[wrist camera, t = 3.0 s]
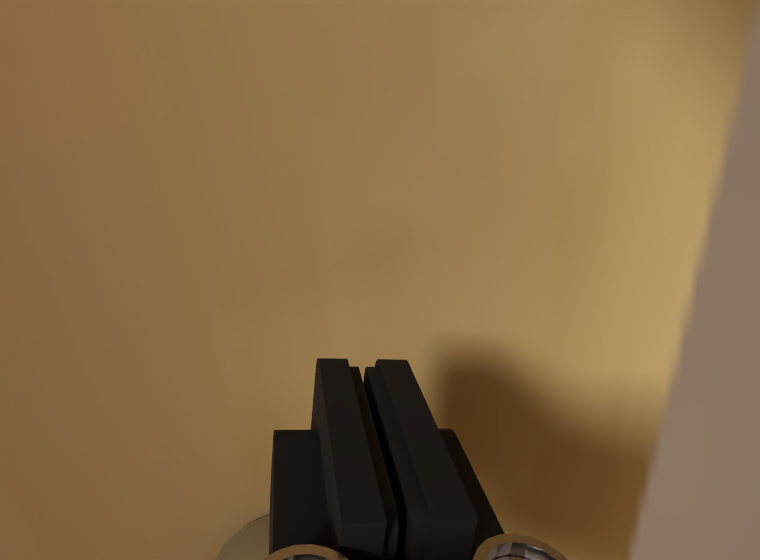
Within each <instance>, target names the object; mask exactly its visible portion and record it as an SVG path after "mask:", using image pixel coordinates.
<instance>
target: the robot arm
mask: <svg viewBox="0 0 760 560" xmlns="http://www.w3.org/2000/svg"><path fill="white" fill-rule="evenodd" d="M263 560H567V559H566V558H565V556H564V555H563V554H561V553H560V552H558V551H557V550H555V549H554V548H553V547H551V546H550V545H548V544H546V543H544V542H542V541H539V540H537V539H535V538H532V537H529V536H524V535H519V534H504V532H503V530H502V528H501V526H500V524H499V522H498V520H497V517H496V515H495V513H494V511H493V509H492V507H491V505H490V503H489V501H488V499H487V497H486V495H485V493H484V491H483V489H482V487H481V485H480V483H479V481H478V479H477V477H476V475H475V473H474V471H473V469H472V467H471V464H470V462H469V460H468V458H467V456H466V454H465V452H464V450H463V448H462V446H461V444H460V442H459V440H458V438H457V436H456V434H455V433H454V431H453V430H451V429H438V427H437V425H436V423H435V421H434V418H433V416H432V414H431V412H430V410H429V407H428V405H427V403H426V401H425V398H424V396H423V394H422V392H421V389H420V387H419V385H418V383H417V381H416V378H415V376H414V374H413V372H412V369H411V367H410V365H409V363H408V361H407V360H384V359H378V360H377V361H376V364H375V367H366V369H365V374H364V382H363V381H362V377H361V374H360V370H359V367H349V363H348V360H347V359H326V358H318V359H317V364H316V373H315V385H314V397H313V410H312V422H311V430H274V435H273V451H272V470H271V492H270V525H269V556H268V557H266V558H265V559H263Z"/></svg>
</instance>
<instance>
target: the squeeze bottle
mask: <svg viewBox="0 0 760 560" xmlns="http://www.w3.org/2000/svg"><path fill="white" fill-rule="evenodd" d="M269 525H270V514H269V515H267V516H264V517H262V518H260V519H257V520H255V521H253V522H250V523H248V524H247V525H245V526H244V527H243V528H242V529H241V530H240V531H239V532H238V533H237V534H236V535H235V536H233V537H232V538H231V539H230V540H229V541H228V542H227V543H226V544H225V545H224V546H223V547H222V549H221V551H220V553H219V555H218V557H217V559H216V560H263V559H265V558H266V557H268V556H269Z"/></svg>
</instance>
